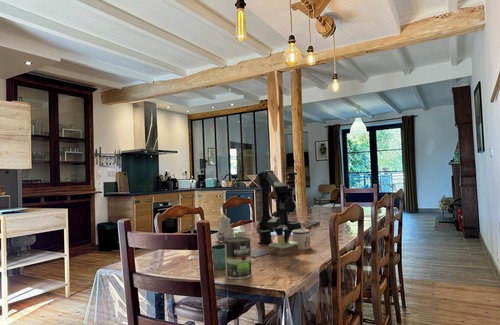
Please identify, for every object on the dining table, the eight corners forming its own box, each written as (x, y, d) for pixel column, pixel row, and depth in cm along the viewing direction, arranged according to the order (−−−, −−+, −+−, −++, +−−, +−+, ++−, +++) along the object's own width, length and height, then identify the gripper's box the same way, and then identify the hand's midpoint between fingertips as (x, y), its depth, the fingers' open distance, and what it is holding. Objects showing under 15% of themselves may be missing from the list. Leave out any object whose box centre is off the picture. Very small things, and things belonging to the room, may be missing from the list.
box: (269, 254, 163) (269, 246, 164) (284, 250, 171) (283, 242, 171) (283, 256, 157) (283, 248, 157) (298, 252, 165) (297, 244, 165)
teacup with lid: (308, 250, 167) (306, 227, 168) (290, 249, 171) (289, 226, 171) (314, 245, 178) (313, 223, 178) (297, 244, 182) (296, 223, 182)
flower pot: (206, 268, 144) (205, 247, 144) (222, 263, 150) (221, 243, 151) (219, 271, 138) (218, 249, 138) (235, 266, 144) (234, 245, 144)
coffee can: (256, 276, 129) (254, 239, 130) (232, 281, 124) (230, 243, 125) (244, 270, 138) (243, 235, 139) (221, 274, 133) (220, 239, 134)
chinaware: (253, 244, 198) (254, 215, 199) (229, 245, 188) (230, 215, 190) (228, 238, 221) (230, 212, 222) (206, 239, 212) (207, 212, 213)
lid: (269, 247, 164) (268, 235, 164) (283, 243, 171) (283, 232, 171) (283, 249, 157) (282, 237, 157) (297, 245, 165) (297, 233, 165)
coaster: (238, 254, 166) (238, 253, 166) (255, 250, 174) (255, 248, 174) (255, 258, 157) (255, 256, 157) (272, 253, 166) (272, 251, 166)
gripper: (257, 211, 166) (258, 243, 165) (286, 213, 153) (287, 248, 152) (272, 209, 174) (273, 239, 173) (300, 210, 160) (302, 243, 160)
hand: (283, 242), depth 164 cm, fingers closed on lid, 3 cm apart
